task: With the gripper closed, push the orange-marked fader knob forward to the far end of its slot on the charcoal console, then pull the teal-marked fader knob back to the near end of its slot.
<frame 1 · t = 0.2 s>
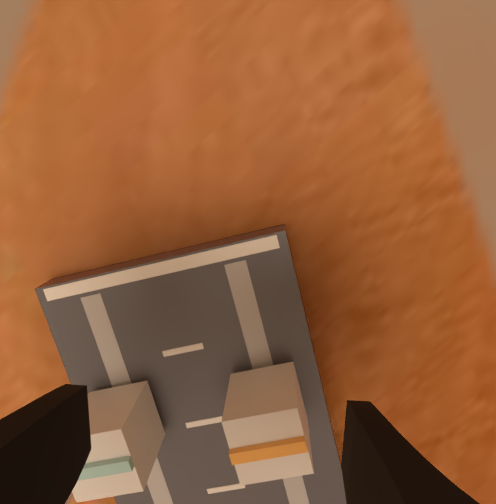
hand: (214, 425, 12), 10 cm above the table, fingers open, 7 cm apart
fader b: (112, 439, 19), point 4 cm above the table, slide at 0.0 cm
fader a: (268, 421, 18), point 4 cm above the table, slide at 0.0 cm
console: (209, 404, 23), on the table
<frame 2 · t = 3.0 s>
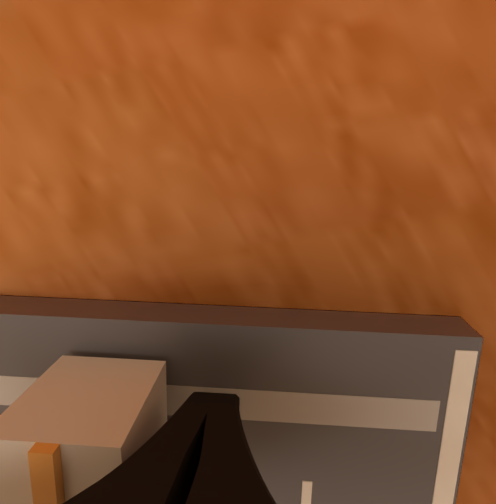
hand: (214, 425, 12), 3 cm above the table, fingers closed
fader a: (87, 450, 11), point 4 cm above the table, slide at 0.7 cm, touching gripper
console: (188, 464, 15), on the table
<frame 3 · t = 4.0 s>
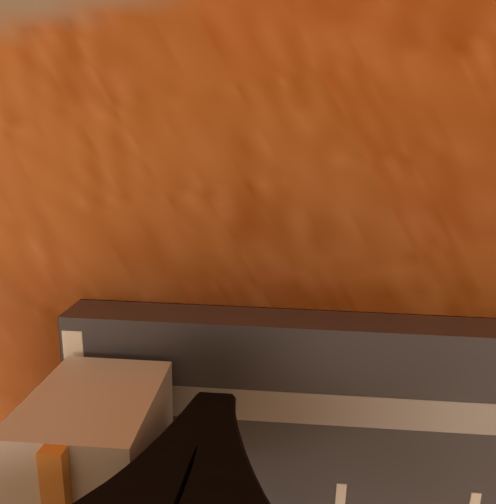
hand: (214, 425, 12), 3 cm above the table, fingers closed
fader a: (94, 452, 11), point 4 cm above the table, slide at 5.6 cm, touching gripper
console: (332, 474, 15), on the table
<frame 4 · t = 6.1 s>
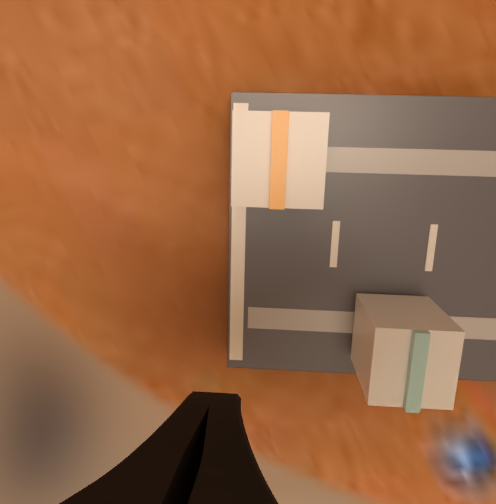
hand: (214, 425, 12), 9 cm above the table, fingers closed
fader b: (401, 348, 17), point 4 cm above the table, slide at 0.0 cm
fader a: (278, 159, 15), point 4 cm above the table, slide at 5.5 cm
console: (419, 240, 19), on the table
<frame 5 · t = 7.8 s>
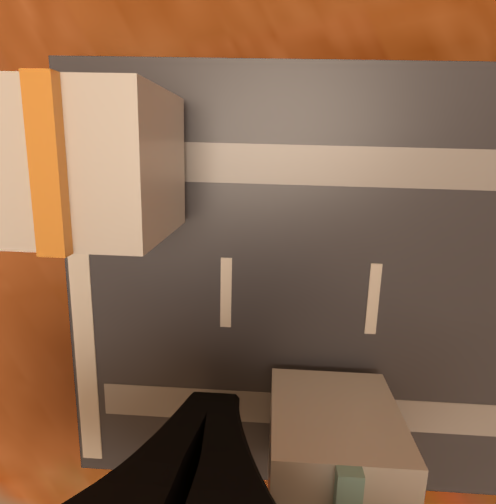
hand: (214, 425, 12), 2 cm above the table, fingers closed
fader b: (332, 469, 10), point 4 cm above the table, slide at -0.4 cm, touching gripper
fader a: (92, 163, 9), point 4 cm above the table, slide at 5.5 cm
console: (362, 282, 13), on the table
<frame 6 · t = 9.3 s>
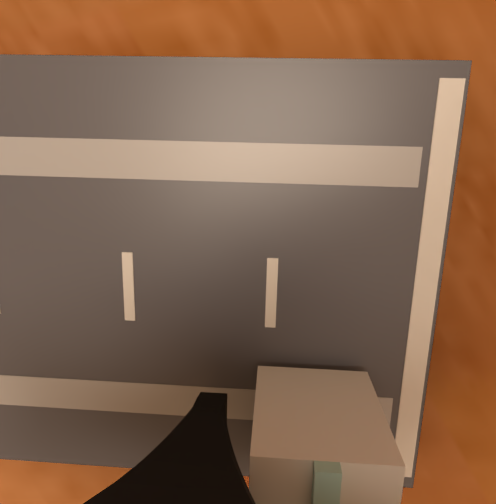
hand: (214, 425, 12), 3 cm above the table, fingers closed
fader b: (314, 465, 10), point 4 cm above the table, slide at -6.7 cm, touching gripper
console: (144, 271, 13), on the table
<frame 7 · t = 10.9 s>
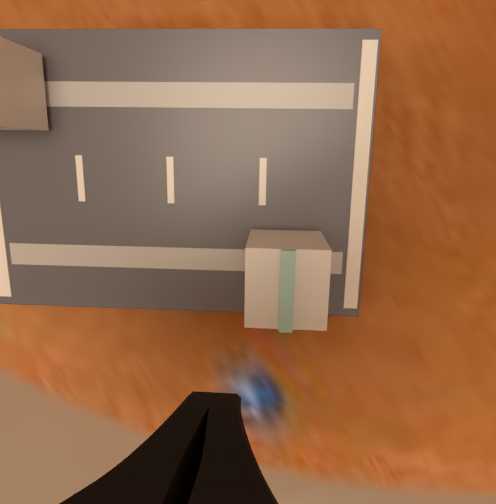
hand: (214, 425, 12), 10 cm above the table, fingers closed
fader b: (285, 276, 17), point 4 cm above the table, slide at -6.5 cm
console: (178, 177, 20), on the table
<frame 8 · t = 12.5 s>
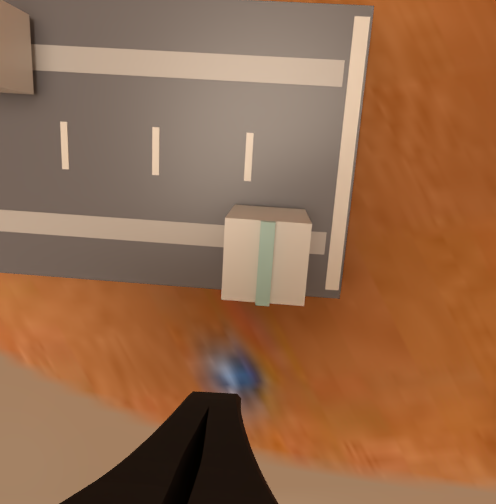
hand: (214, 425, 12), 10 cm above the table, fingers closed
fader b: (266, 251, 17), point 4 cm above the table, slide at -6.5 cm
console: (164, 151, 20), on the table
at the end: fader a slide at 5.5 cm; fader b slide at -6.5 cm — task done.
